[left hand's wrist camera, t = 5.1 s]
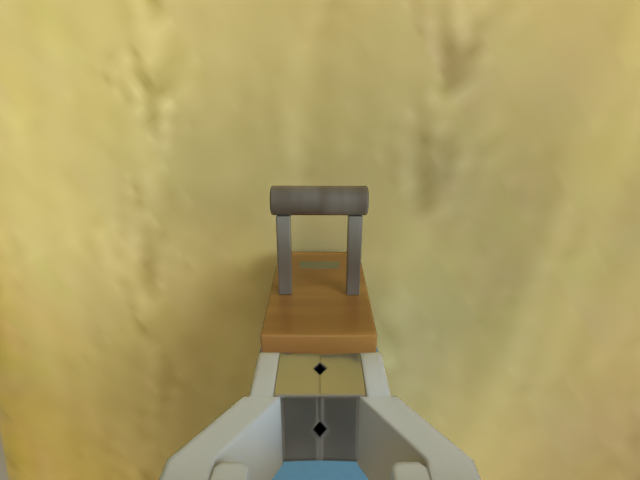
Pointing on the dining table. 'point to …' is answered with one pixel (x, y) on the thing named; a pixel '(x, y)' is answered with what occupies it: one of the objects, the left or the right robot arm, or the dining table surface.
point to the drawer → (319, 279)
